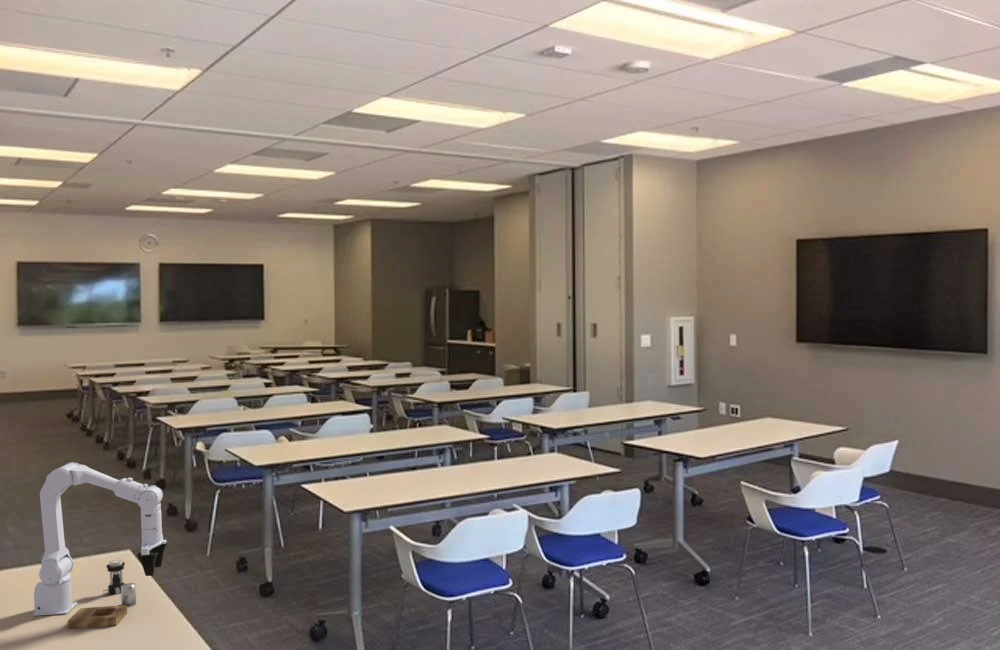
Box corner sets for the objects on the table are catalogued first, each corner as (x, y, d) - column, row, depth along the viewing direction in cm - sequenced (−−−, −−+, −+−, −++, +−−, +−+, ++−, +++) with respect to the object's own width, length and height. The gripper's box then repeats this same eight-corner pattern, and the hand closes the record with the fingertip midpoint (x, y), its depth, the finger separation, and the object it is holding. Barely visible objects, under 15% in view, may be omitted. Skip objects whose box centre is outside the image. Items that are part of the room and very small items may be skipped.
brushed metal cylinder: (119, 607, 245) (118, 587, 245) (124, 602, 249) (123, 583, 249) (133, 606, 246) (132, 587, 245) (137, 601, 250) (137, 582, 249)
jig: (68, 628, 230) (67, 620, 230) (81, 616, 239) (80, 608, 239) (116, 625, 231) (115, 617, 231) (127, 613, 240) (126, 605, 240)
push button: (104, 598, 253) (103, 566, 253) (101, 593, 258) (100, 562, 257) (127, 592, 257) (126, 561, 257) (124, 588, 262) (122, 557, 261)
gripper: (157, 533, 240) (159, 578, 240) (172, 519, 254) (174, 562, 254) (133, 534, 239) (135, 580, 239) (148, 521, 253) (150, 564, 254)
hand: (153, 571), depth 247 cm, fingers open, 7 cm apart
